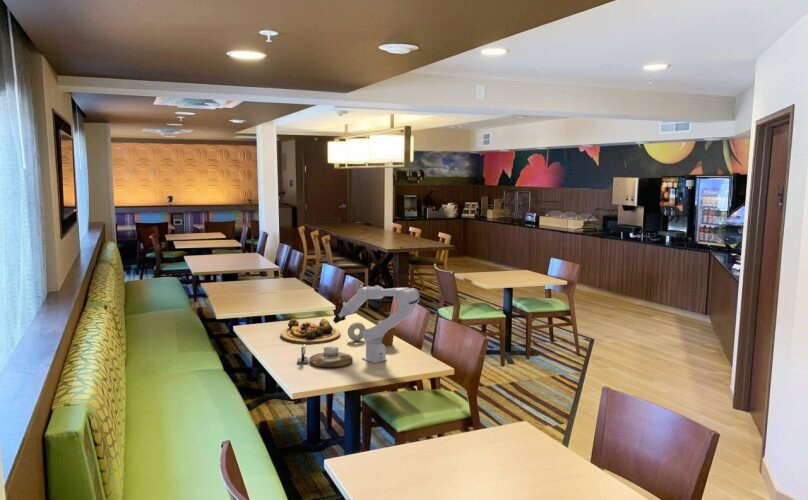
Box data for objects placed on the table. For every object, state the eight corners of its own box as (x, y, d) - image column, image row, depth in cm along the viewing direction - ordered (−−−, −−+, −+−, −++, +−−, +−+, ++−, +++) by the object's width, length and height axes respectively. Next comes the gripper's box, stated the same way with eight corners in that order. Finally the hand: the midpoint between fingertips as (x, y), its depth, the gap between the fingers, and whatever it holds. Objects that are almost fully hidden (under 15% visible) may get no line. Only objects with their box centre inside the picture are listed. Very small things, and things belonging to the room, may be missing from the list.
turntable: (361, 361, 272) (361, 359, 272) (324, 370, 260) (324, 368, 259) (336, 351, 288) (336, 349, 287) (301, 359, 275) (301, 357, 274)
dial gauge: (297, 364, 269) (297, 346, 268) (297, 360, 274) (297, 343, 273) (308, 363, 270) (308, 346, 269) (308, 360, 275) (308, 342, 274)
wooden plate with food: (269, 334, 318) (269, 320, 317) (318, 325, 339) (318, 311, 338) (301, 349, 295) (301, 333, 294) (352, 338, 316) (352, 323, 315)
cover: (341, 355, 278) (341, 348, 278) (328, 357, 274) (328, 351, 274) (333, 351, 284) (333, 345, 283) (320, 354, 279) (320, 348, 279)
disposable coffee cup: (379, 347, 297) (379, 324, 295) (375, 342, 306) (375, 320, 304) (397, 346, 299) (398, 323, 298) (393, 341, 309) (393, 319, 307)
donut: (364, 339, 312) (364, 320, 311) (366, 340, 309) (366, 322, 308) (346, 340, 308) (346, 322, 307) (348, 342, 305) (348, 323, 304)
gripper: (356, 292, 289) (341, 307, 296) (341, 303, 277) (325, 318, 284) (365, 302, 288) (350, 317, 295) (350, 314, 276) (334, 329, 283)
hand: (338, 318), depth 290 cm, fingers open, 7 cm apart
